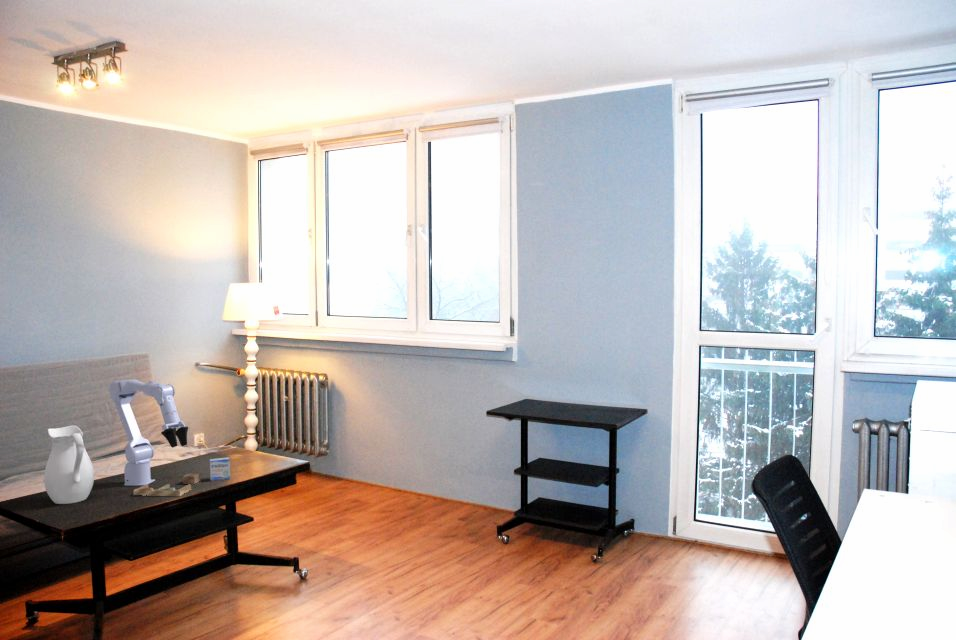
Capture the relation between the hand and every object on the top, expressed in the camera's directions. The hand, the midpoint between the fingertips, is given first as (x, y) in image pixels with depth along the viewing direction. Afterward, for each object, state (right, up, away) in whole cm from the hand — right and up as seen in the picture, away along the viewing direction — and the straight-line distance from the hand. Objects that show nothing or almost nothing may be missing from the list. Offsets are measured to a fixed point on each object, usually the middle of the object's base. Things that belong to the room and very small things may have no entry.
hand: (179, 446), depth 300 cm
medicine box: (+10, -17, +17) cm, 26 cm away
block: (0, -17, +12) cm, 21 cm away
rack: (-6, -18, -2) cm, 19 cm away
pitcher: (-36, -20, -12) cm, 43 cm away
